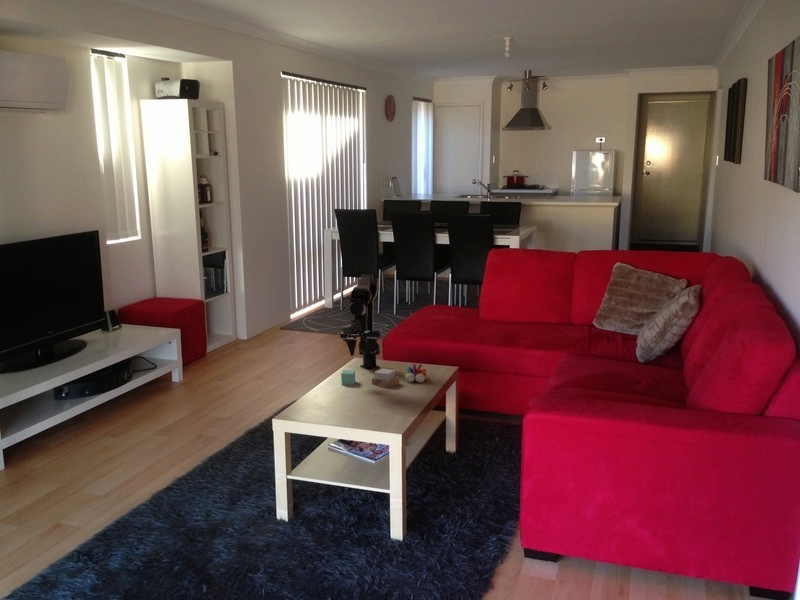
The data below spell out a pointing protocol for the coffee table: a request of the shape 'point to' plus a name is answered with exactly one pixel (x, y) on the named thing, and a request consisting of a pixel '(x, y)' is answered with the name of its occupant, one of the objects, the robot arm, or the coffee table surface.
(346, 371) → the teal cube
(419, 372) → the rainbow segmented toy
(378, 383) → the tower base
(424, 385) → the coffee table surface
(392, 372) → the tower mid
